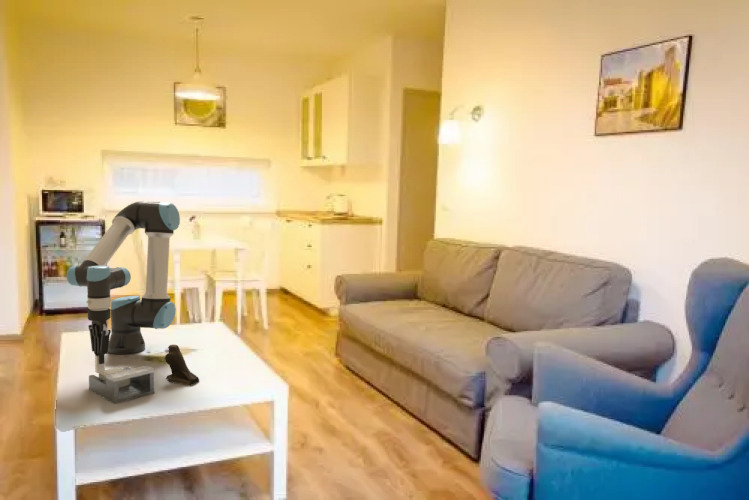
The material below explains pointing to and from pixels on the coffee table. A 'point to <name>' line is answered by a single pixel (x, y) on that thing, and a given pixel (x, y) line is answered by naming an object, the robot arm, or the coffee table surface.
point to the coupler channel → (138, 386)
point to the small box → (103, 373)
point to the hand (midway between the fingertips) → (100, 371)
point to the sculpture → (179, 368)
